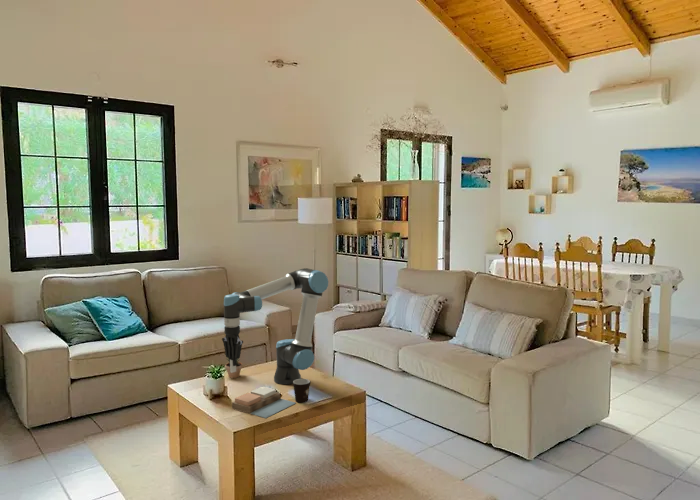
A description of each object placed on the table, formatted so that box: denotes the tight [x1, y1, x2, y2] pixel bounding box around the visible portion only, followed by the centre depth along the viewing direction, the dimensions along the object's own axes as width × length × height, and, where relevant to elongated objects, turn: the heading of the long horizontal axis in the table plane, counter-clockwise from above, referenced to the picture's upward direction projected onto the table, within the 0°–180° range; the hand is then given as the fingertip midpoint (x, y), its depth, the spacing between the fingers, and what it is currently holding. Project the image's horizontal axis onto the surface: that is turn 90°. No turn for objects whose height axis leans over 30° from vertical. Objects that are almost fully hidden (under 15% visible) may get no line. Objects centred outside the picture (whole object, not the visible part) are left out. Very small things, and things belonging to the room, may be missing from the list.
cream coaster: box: [250, 386, 277, 399], centre depth 278 cm, size 9×9×2 cm
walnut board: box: [231, 392, 281, 414], centre depth 273 cm, size 22×12×3 cm, turn 146°
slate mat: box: [250, 398, 297, 419], centre depth 267 cm, size 22×10×1 cm, turn 146°
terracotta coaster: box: [234, 392, 261, 406], centre depth 269 cm, size 9×9×2 cm
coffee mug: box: [293, 378, 311, 404], centre depth 277 cm, size 12×9×10 cm
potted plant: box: [224, 353, 243, 379], centre depth 313 cm, size 10×10×25 cm
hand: (233, 371), depth 273 cm, fingers closed
